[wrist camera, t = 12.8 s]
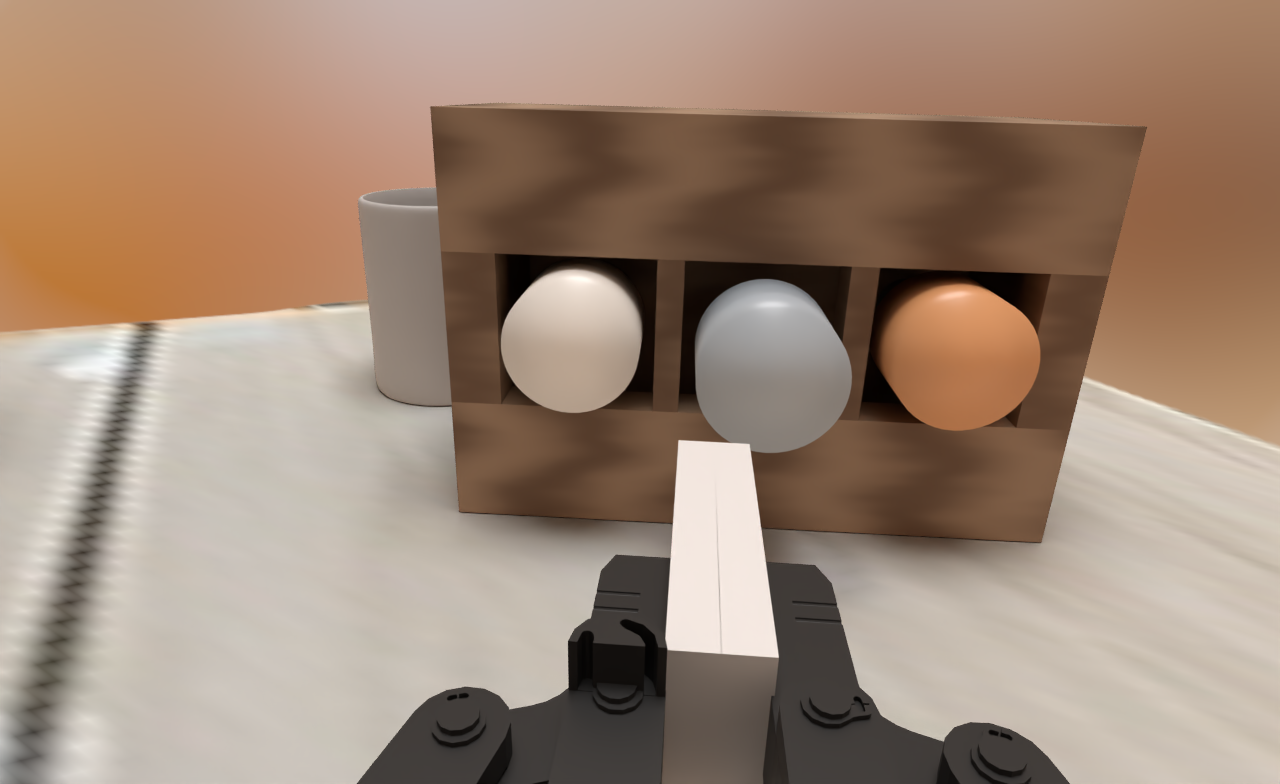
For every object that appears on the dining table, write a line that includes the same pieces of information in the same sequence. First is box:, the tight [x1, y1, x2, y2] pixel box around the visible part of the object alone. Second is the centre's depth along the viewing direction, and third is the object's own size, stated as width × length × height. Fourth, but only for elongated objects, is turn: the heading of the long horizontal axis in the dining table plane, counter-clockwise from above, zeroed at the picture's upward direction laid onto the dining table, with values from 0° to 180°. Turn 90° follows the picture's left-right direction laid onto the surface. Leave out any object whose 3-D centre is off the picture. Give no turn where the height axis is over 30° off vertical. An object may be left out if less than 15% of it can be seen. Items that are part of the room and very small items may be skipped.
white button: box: [501, 257, 645, 413], centre depth 31 cm, size 5×8×5 cm, turn 177°
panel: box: [431, 103, 1147, 542], centre depth 33 cm, size 24×10×16 cm, turn 87°
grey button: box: [695, 279, 852, 453], centre depth 28 cm, size 5×8×5 cm, turn 176°
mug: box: [358, 188, 452, 406], centre depth 46 cm, size 12×8×11 cm
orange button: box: [869, 271, 1040, 431], centre depth 31 cm, size 5×8×5 cm, turn 177°
